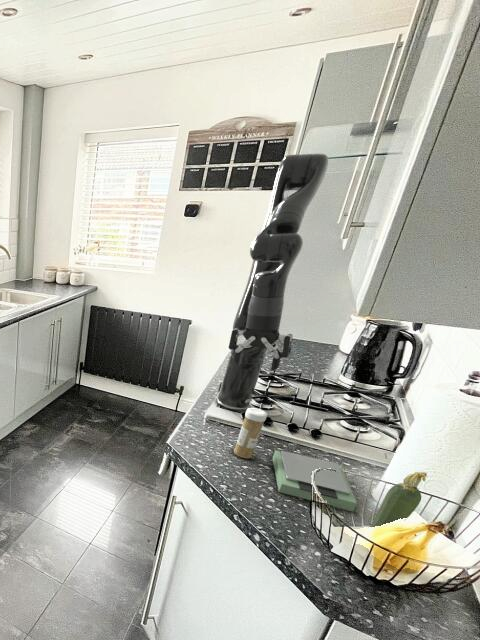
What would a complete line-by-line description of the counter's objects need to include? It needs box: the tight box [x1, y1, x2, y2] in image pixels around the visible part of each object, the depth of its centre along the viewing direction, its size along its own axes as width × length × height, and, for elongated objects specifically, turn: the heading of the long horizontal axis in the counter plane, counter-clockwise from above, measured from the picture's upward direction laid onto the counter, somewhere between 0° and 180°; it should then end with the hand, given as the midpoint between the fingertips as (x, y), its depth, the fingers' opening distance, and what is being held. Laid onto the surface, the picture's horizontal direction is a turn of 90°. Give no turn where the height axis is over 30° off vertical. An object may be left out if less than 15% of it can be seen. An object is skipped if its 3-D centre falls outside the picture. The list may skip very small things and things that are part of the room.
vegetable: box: [368, 471, 429, 528], centre depth 80 cm, size 4×4×20 cm
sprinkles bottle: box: [233, 407, 268, 459], centre depth 112 cm, size 5×5×14 cm
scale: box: [272, 450, 358, 512], centre depth 103 cm, size 16×14×3 cm
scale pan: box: [279, 450, 350, 496], centre depth 104 cm, size 13×12×1 cm
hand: (255, 366), depth 120 cm, fingers open, 8 cm apart
